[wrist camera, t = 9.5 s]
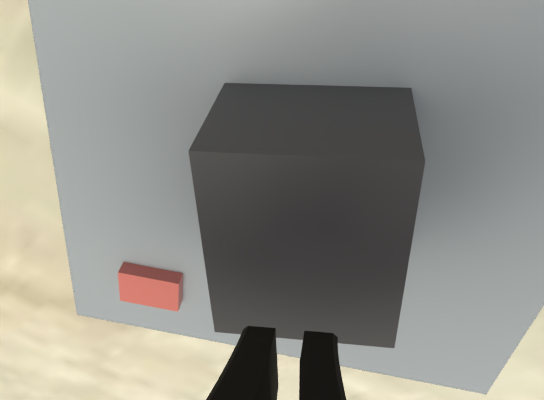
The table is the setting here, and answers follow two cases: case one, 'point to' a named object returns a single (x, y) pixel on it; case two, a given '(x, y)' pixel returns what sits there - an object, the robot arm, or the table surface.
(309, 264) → the plug
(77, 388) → the table surface
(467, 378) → the socket
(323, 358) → the robot arm
